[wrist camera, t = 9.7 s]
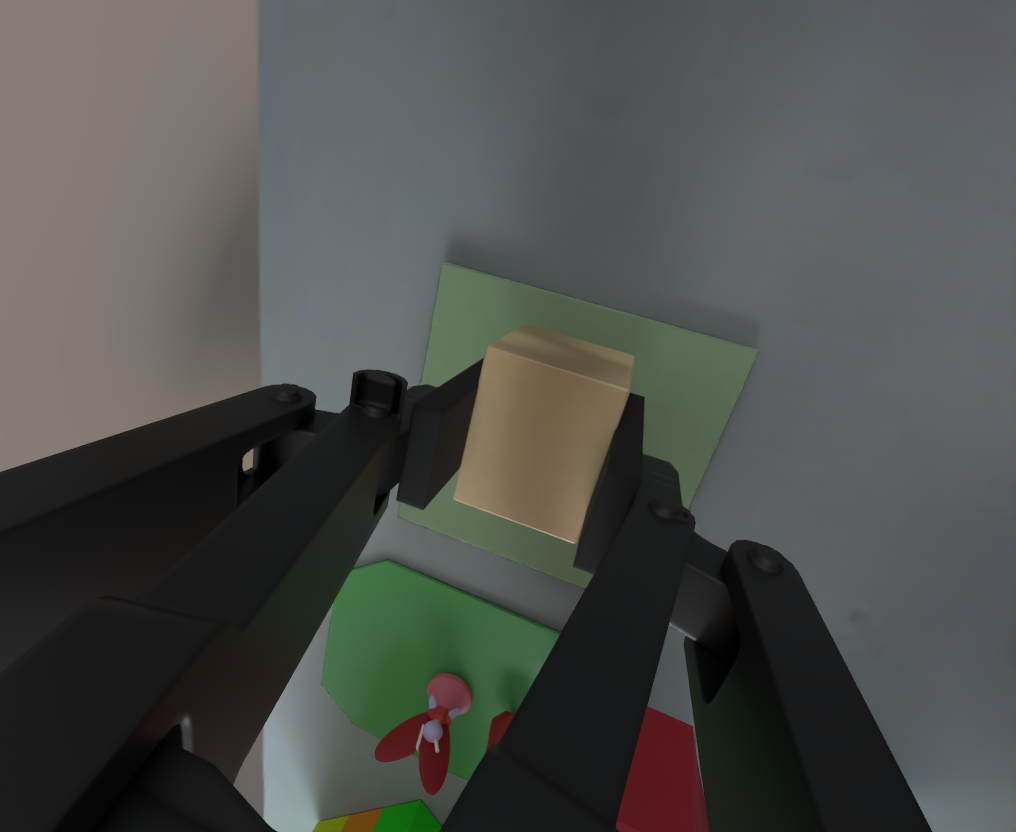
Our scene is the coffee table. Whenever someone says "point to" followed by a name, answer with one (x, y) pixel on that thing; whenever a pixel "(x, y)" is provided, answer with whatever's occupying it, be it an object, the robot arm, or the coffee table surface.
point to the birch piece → (542, 428)
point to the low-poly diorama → (474, 689)
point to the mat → (656, 375)
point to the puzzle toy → (385, 820)
